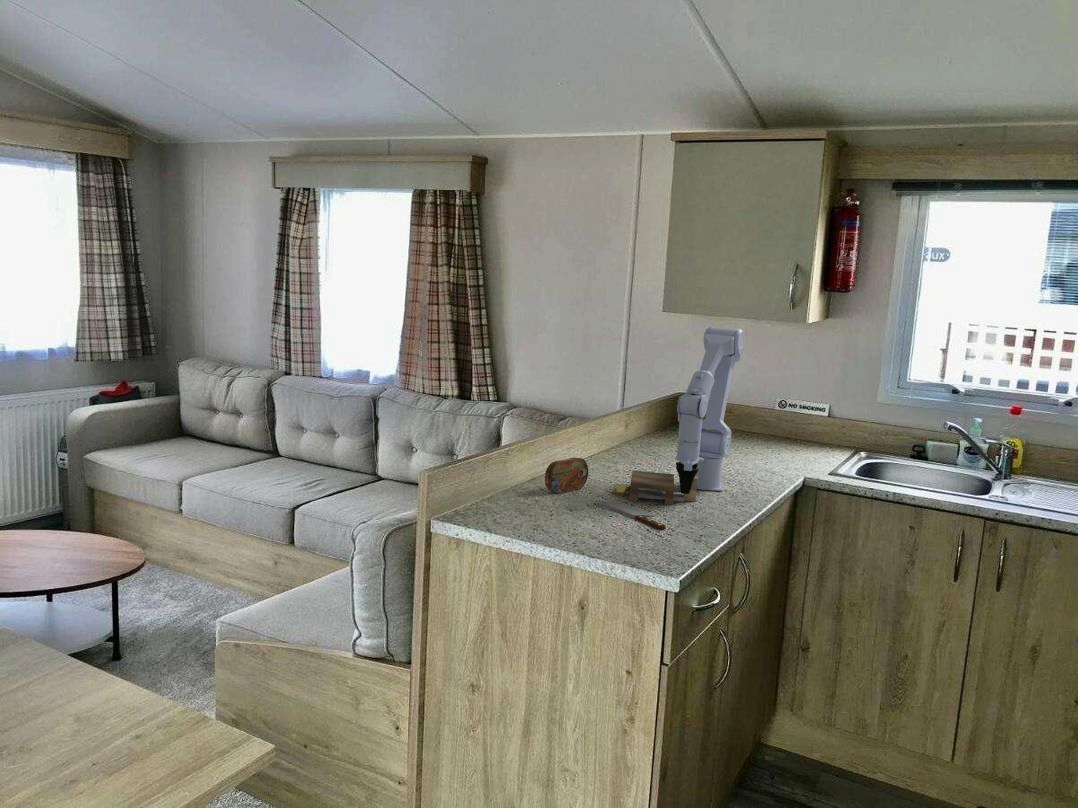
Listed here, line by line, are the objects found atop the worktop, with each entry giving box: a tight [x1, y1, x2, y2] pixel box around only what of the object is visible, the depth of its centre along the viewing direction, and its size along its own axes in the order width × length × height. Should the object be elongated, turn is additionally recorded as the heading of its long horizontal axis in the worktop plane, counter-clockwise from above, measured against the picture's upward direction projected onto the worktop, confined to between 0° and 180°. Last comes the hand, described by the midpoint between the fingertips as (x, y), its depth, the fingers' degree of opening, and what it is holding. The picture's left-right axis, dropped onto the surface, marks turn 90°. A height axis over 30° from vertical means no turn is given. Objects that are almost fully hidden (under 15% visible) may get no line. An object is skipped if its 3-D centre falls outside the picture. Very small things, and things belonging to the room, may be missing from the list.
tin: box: [544, 457, 589, 495], centre depth 234 cm, size 15×3×8 cm, turn 137°
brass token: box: [612, 483, 630, 497], centre depth 235 cm, size 5×5×2 cm
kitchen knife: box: [596, 500, 666, 531], centre depth 215 cm, size 24×1×10 cm
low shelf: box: [628, 470, 675, 506], centre depth 233 cm, size 14×11×5 cm
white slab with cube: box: [637, 476, 698, 503], centre depth 233 cm, size 6×16×6 cm, turn 82°
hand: (684, 491), depth 232 cm, fingers closed on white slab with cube, 3 cm apart
